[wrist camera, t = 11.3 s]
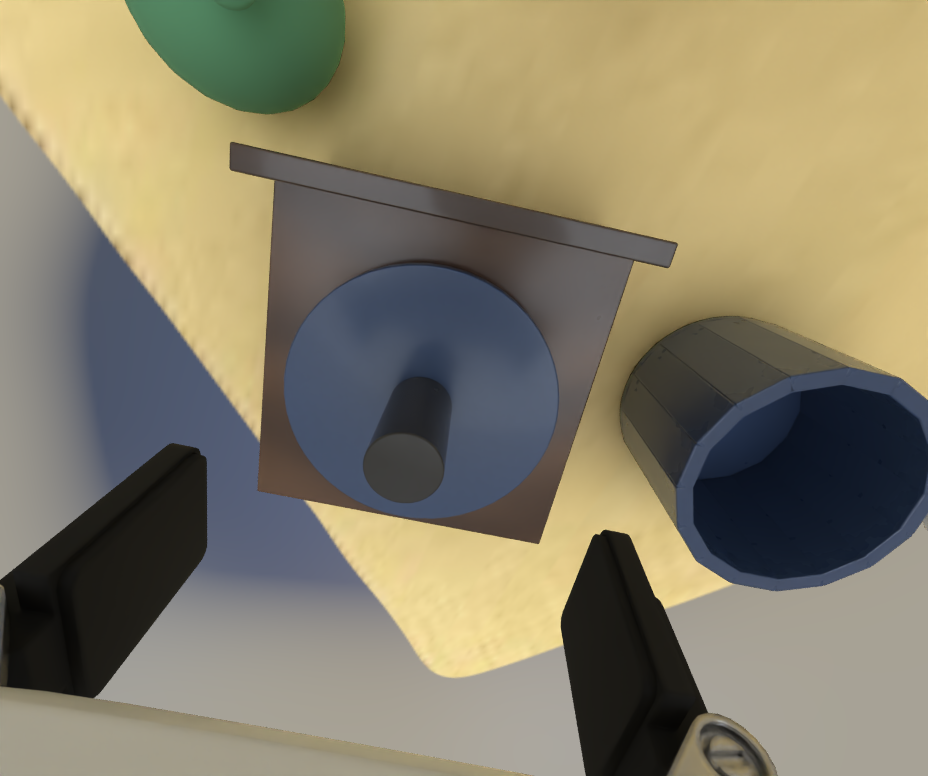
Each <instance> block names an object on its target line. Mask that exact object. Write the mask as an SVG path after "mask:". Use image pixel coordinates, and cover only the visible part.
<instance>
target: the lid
mask: <svg viewBox="0 0 928 776" xmlns="http://www.w3.org/2000/svg"><path fill="white" fill-rule="evenodd" d="M284 398H285V405H286V411H287V415H288V418H289V422H290V426H291V428H292V430H293V433H294V435H295V437H296V440H297V442H298V444H299V445H300V447H301V449H302V450H303V452H304V454H305V455H306V457H307V458H308V459H309V461H310V462H311V463H312V465H313V466H314V467H315V468H316V469H317V471H318V472H319V473H320V474H321V475H322V476H323V477H324V478H325V479H326V480H327V481H329V482H330V483H331V484H332V485H334V486H335V487H336V488H337V489H338V490H340V491H341V492H343V493H344V494H346V495H348V496H349V497H351V498H352V499H354V500H356V501H358V502H360V503H362V504H364V505H366V506H368V507H371V508H374V509H376V510H379V511H382V512H385V513H389V514H393V515H397V516H403V517H410V518H426V519H434V518H446V517H452V516H457V515H462V514H466V513H469V512H472V511H475V510H478V509H481V508H483V507H485V506H487V505H490V504H492V503H494V502H496V501H497V500H499V499H501V498H502V497H504V496H506V495H507V494H508V493H510V492H511V491H512V490H513V489H515V488H516V487H517V486H519V485H520V484H521V483H522V482H523V481H524V480H525V479H526V478H527V477H528V476H529V475H530V474H531V472H532V471H533V470H534V468H535V467H536V466H537V464H538V463H539V462H540V460H541V458H542V457H543V455H544V453H545V451H546V450H547V448H548V446H549V443H550V441H551V438H552V436H553V433H554V430H555V425H556V421H557V417H558V408H559V383H558V378H557V373H556V367H555V364H554V361H553V358H552V355H551V352H550V349H549V347H548V345H547V343H546V341H545V339H544V337H543V335H542V334H541V332H540V330H539V328H538V327H537V325H536V324H535V323H534V321H533V320H532V318H531V317H530V316H529V314H528V313H527V312H526V311H525V310H524V309H523V308H522V307H521V306H520V305H519V304H518V303H517V302H516V301H515V300H514V299H513V298H512V297H510V296H509V295H508V294H507V293H505V292H504V291H503V290H502V289H500V288H499V287H497V286H495V285H494V284H492V283H490V282H489V281H487V280H485V279H483V278H481V277H479V276H476V275H474V274H472V273H470V272H467V271H464V270H461V269H457V268H454V267H450V266H445V265H439V264H432V263H403V264H395V265H388V266H384V267H381V268H377V269H373V270H370V271H368V272H365V273H363V274H361V275H358V276H356V277H354V278H352V279H350V280H349V281H347V282H345V283H344V284H342V285H340V286H339V287H337V288H335V289H334V290H333V291H332V292H330V293H329V294H328V295H327V296H326V297H324V298H323V299H322V300H321V301H320V302H319V303H318V304H317V305H316V306H315V307H314V308H313V309H312V311H311V312H310V313H309V314H308V315H307V317H306V318H305V320H304V321H303V323H302V324H301V326H300V327H299V329H298V331H297V333H296V335H295V337H294V339H293V342H292V344H291V347H290V350H289V353H288V357H287V360H286V367H285V373H284Z"/></svg>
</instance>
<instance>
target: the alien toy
mask: <svg viewBox="0 0 928 776" xmlns="http://www.w3.org/2000/svg"><path fill="white" fill-rule="evenodd" d="M125 2H126V4H127V6H128V8H129V10H130V12H131V14H132V16H133V18H134V19H135V21H136V23H137V25H138V27H139V28H140V30H141V32H142V34H143V35H144V37H145V38H146V40H147V41H148V43H149V44H150V45H151V46H152V48H153V49H154V50H155V51H156V52H157V53H158V55H159V56H160V57H161V58H162V59H163V60H164V62H165V63H166V64H167V65H168V66H169V67H170V68H171V69H172V70H173V71H174V72H175V73H176V74H177V75H178V76H180V77H181V78H182V79H183V80H185V81H186V82H187V83H189V84H190V85H191V86H193V87H194V88H195V89H197V90H198V91H199V92H201V93H202V94H204V95H205V96H207V97H209V98H211V99H213V100H215V101H218V102H220V103H222V104H225V105H227V106H229V107H232V108H234V109H236V110H240V111H245V112H253V113H260V114H275V113H281V112H287V111H292V110H295V109H297V108H299V107H301V106H302V105H304V104H306V103H308V102H310V101H312V100H314V99H315V98H316V96H317V95H318V94H319V93H320V92H321V91H322V90H323V89H324V88H325V87H326V86H327V85H328V84H329V82H330V80H331V78H332V77H333V75H334V73H335V71H336V69H337V67H338V65H339V62H340V58H341V54H342V50H343V46H344V42H345V7H344V2H343V0H125Z"/></svg>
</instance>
